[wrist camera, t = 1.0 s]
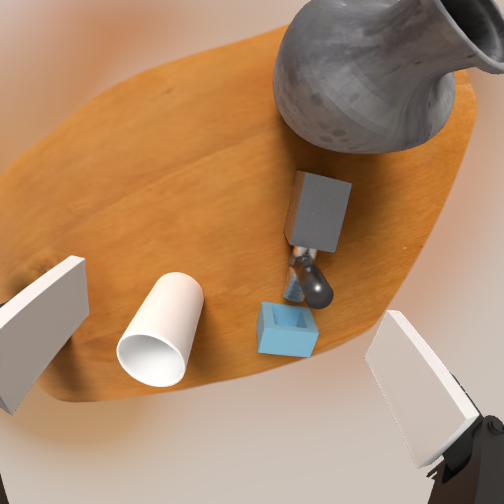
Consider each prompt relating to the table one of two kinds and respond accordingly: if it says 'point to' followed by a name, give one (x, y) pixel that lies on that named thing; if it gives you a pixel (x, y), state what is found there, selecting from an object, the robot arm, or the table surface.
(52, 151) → the table surface
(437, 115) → the vase
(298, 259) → the handle
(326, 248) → the block
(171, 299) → the cup
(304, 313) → the socket
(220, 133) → the table surface
